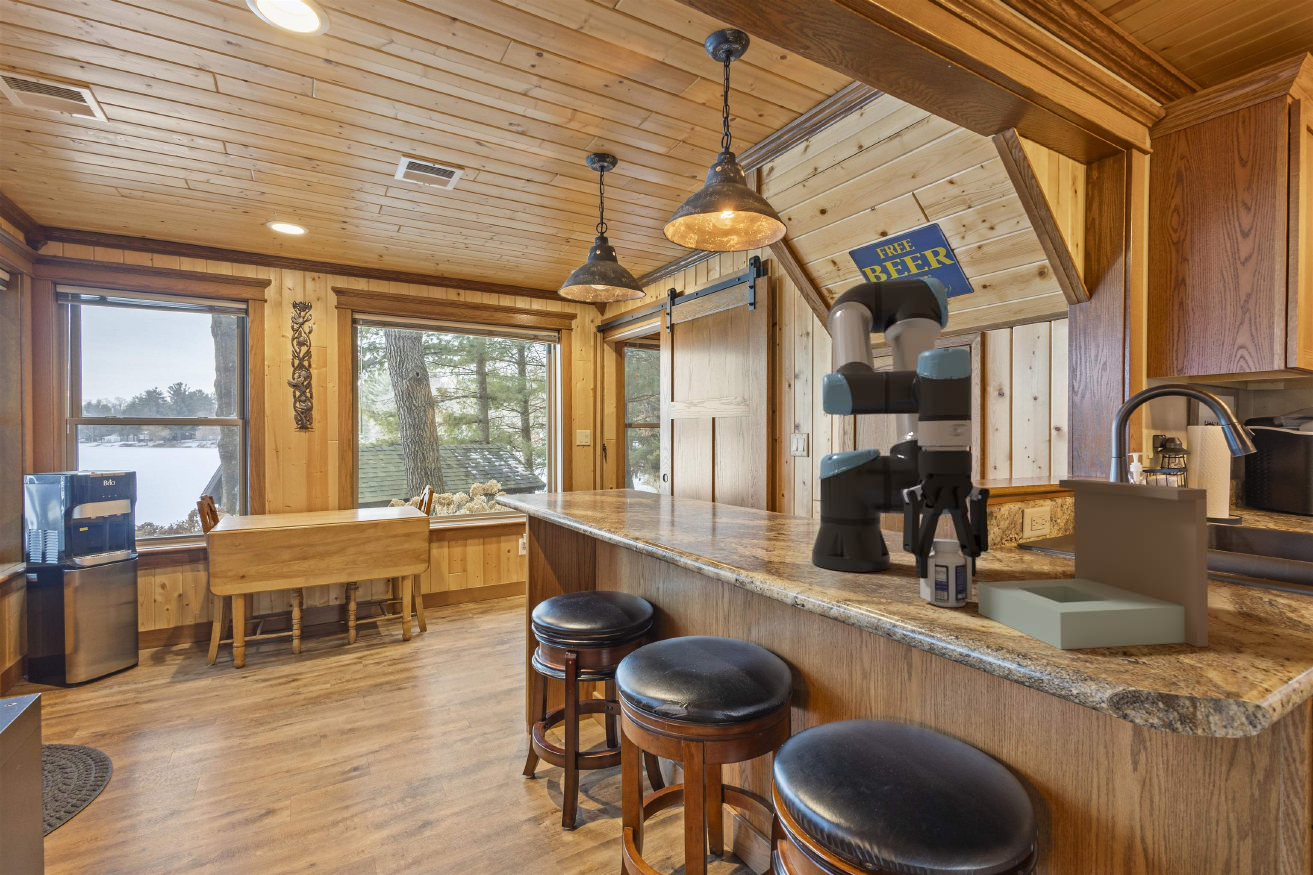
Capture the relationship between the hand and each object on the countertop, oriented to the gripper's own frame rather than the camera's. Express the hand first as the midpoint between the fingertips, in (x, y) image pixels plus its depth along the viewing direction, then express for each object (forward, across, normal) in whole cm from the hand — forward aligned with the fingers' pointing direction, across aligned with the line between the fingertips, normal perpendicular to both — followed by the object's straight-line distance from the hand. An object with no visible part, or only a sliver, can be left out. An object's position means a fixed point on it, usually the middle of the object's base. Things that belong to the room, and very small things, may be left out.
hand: (945, 597), depth 91 cm
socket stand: (+1, +11, -13) cm, 17 cm away
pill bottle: (+1, 0, 0) cm, 1 cm away
